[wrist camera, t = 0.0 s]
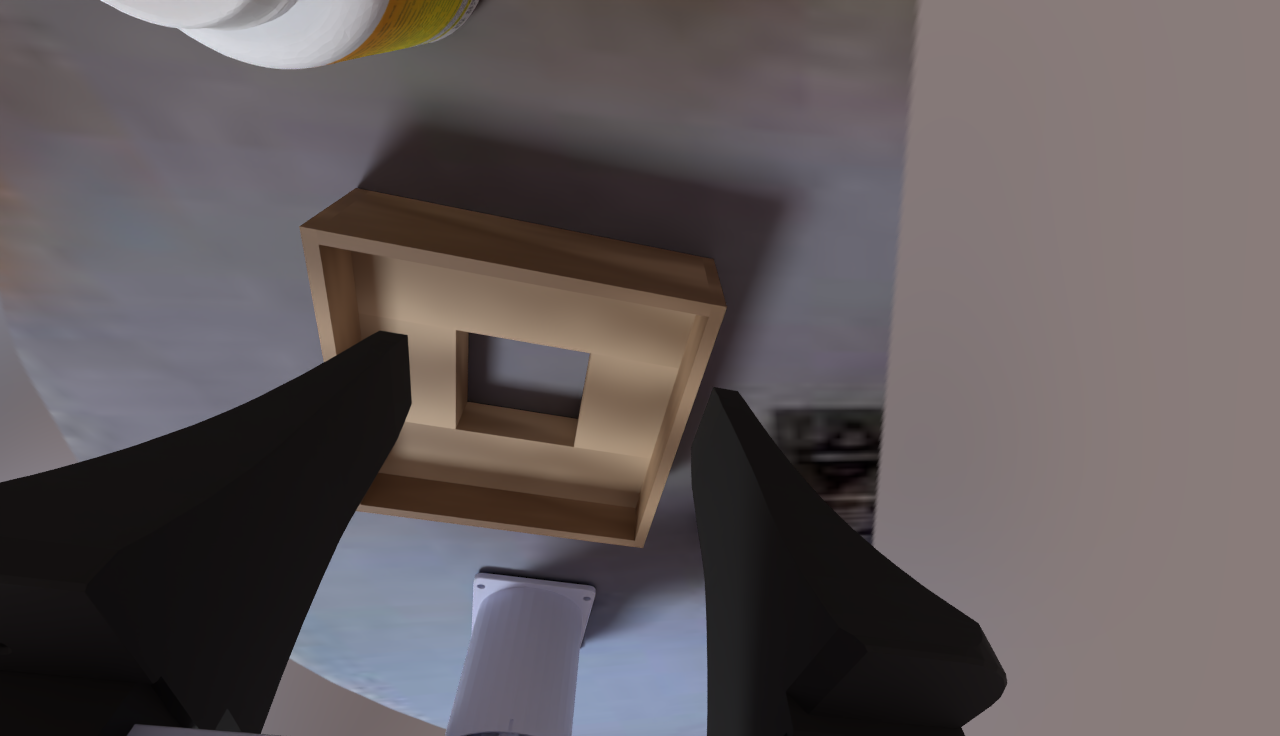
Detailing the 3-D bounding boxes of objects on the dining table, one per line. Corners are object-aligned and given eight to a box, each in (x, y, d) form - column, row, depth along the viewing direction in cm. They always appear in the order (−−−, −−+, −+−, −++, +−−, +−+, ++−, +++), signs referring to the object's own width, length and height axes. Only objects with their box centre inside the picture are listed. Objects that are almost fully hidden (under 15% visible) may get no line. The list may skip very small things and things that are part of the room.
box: (642, 486, 29) (642, 548, 26) (384, 449, 28) (350, 510, 24) (713, 259, 21) (727, 307, 18) (356, 187, 20) (299, 226, 16)
